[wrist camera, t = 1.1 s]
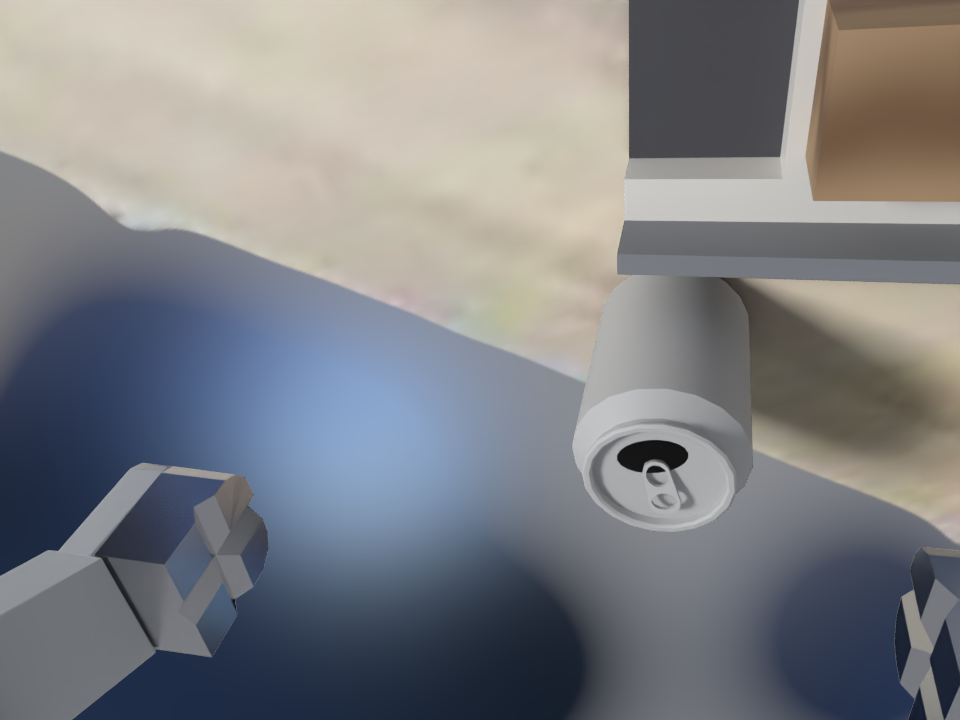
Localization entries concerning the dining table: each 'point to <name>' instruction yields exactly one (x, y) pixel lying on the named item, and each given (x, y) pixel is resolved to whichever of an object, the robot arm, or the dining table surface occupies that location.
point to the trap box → (751, 157)
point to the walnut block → (887, 103)
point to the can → (667, 403)
